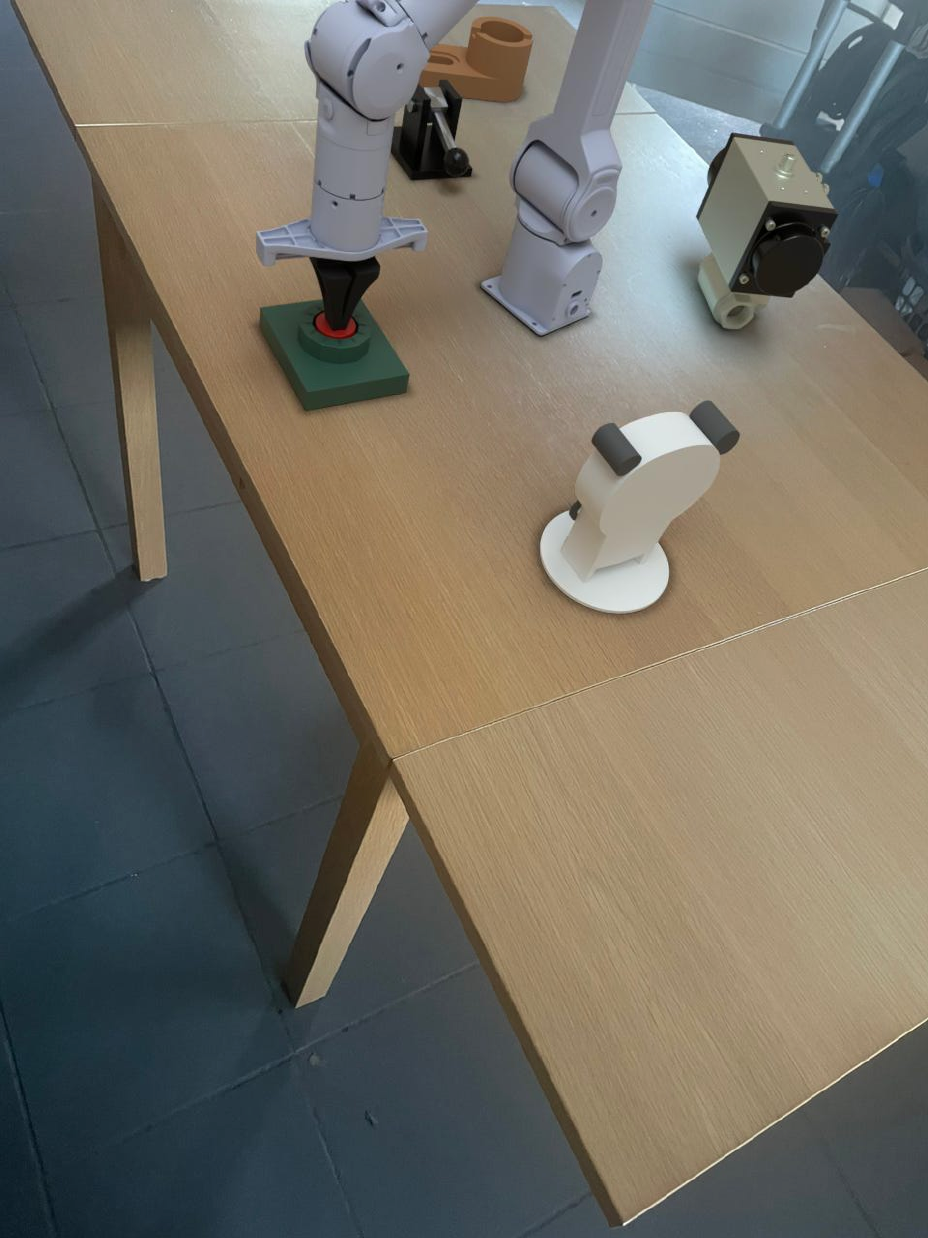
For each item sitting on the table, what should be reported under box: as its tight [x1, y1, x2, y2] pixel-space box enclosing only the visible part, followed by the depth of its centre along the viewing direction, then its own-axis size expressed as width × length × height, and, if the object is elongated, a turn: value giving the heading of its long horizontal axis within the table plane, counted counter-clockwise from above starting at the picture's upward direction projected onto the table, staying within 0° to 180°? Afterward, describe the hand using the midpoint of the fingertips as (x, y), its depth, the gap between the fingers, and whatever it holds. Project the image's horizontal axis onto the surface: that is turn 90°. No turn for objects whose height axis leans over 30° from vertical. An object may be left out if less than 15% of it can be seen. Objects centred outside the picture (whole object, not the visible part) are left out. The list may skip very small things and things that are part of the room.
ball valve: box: [695, 132, 839, 330], centre depth 98 cm, size 18×8×18 cm, turn 7°
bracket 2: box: [418, 16, 534, 103], centre depth 122 cm, size 18×8×7 cm, turn 101°
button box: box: [259, 298, 410, 411], centre depth 85 cm, size 12×10×4 cm
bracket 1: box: [390, 80, 474, 181], centre depth 109 cm, size 10×8×8 cm
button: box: [315, 312, 356, 340], centre depth 84 cm, size 4×4×2 cm
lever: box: [423, 87, 470, 178], centre depth 106 cm, size 11×3×3 cm, turn 26°
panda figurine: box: [539, 399, 741, 615], centre depth 73 cm, size 12×11×15 cm
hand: (335, 323), depth 83 cm, fingers closed, pressing on button
